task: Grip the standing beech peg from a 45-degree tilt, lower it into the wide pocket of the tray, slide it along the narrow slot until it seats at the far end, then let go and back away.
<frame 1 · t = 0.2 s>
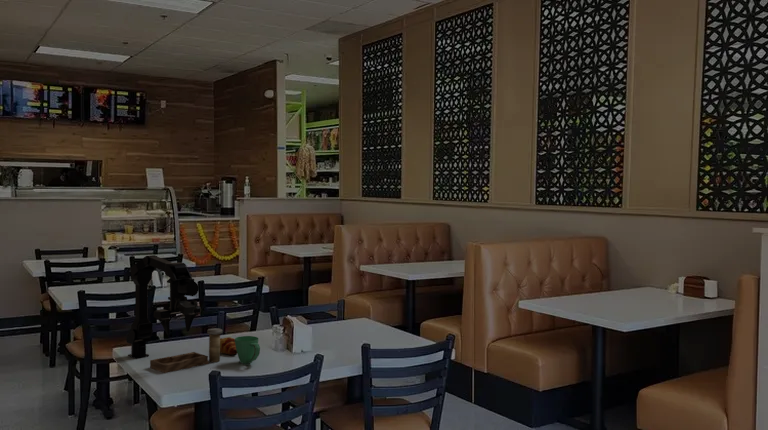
hand: (178, 333, 264), 14 cm above the table, tool pointing down, fingers open, 9 cm apart
tray: (179, 365, 269), on the table
peg: (214, 361, 277), on the table
croissant: (227, 352, 294), on the table
mug: (249, 363, 275), on the table
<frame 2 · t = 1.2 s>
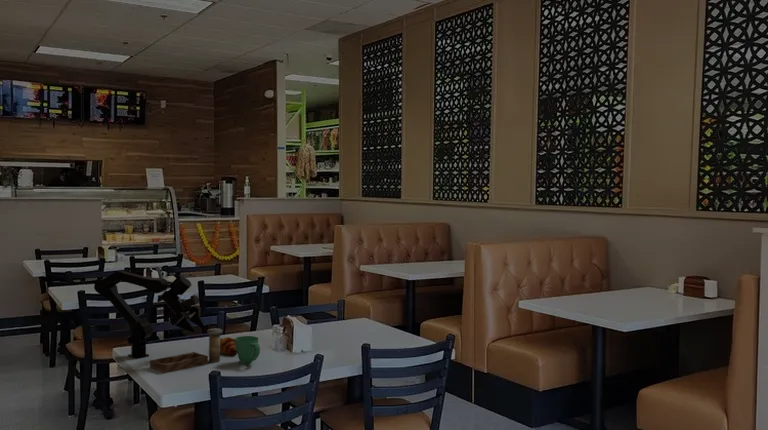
hand: (199, 329, 278), 13 cm above the table, tool tilted 45°, fingers open, 9 cm apart
nothing on the table moved.
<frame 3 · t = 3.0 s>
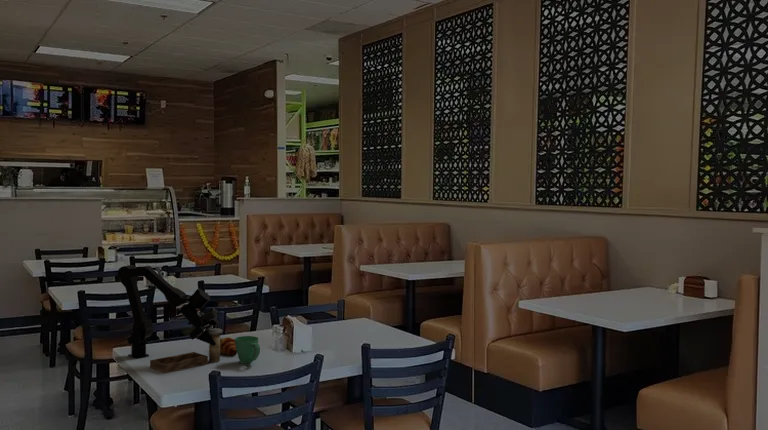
hand: (217, 343, 277), 8 cm above the table, tool tilted 45°, fingers closed on peg, 5 cm apart
peg: (214, 361, 277), on the table, touching gripper
everything else where it was.
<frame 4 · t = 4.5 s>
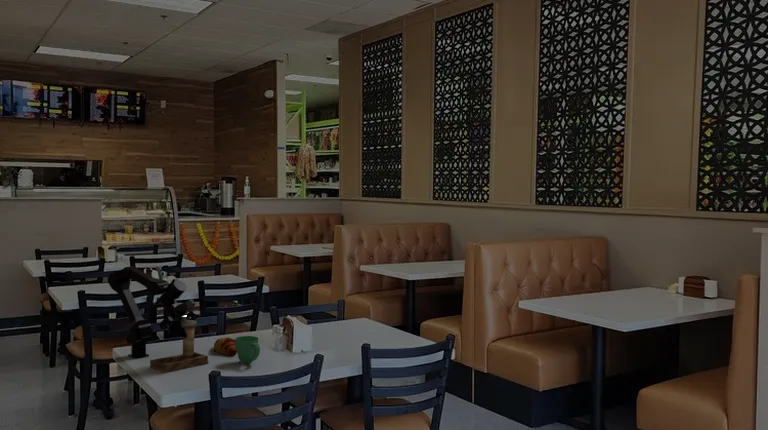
hand: (191, 335, 268), 12 cm above the table, tool tilted 45°, fingers closed on peg, 5 cm apart
peg: (188, 353, 269), point 5 cm above the table, touching gripper
everything else where it was.
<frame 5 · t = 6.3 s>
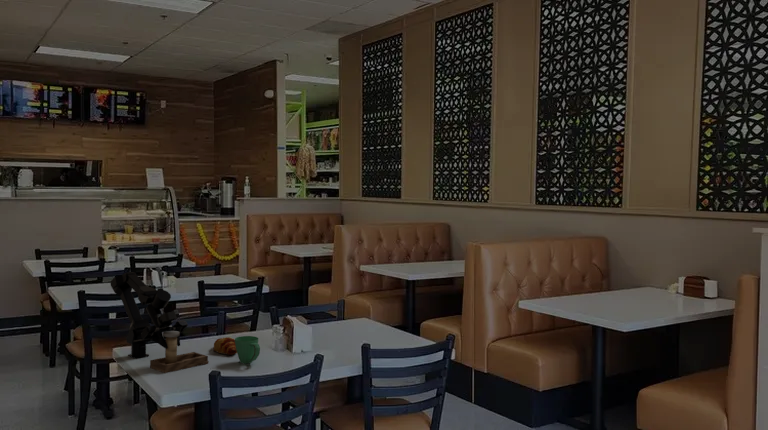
hand: (173, 346, 264), 9 cm above the table, tool tilted 45°, fingers closed on peg, 5 cm apart
peg: (170, 365, 265), point 1 cm above the table, touching gripper
everything else where it was.
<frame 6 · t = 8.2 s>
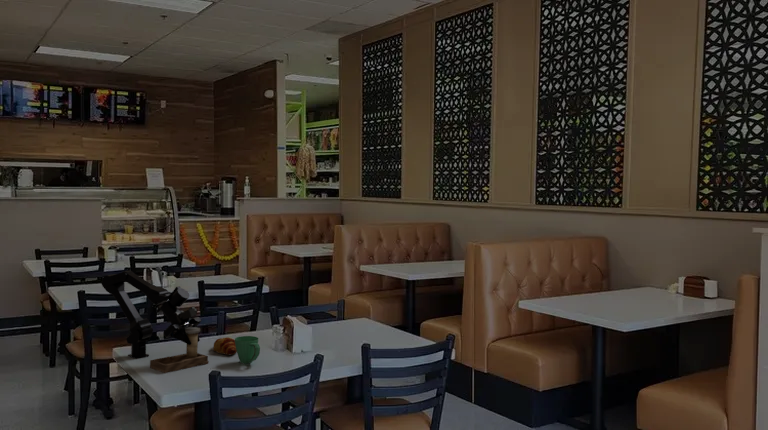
hand: (194, 342, 272), 9 cm above the table, tool tilted 45°, fingers closed on peg, 5 cm apart
peg: (191, 360, 273), point 1 cm above the table, touching gripper
everything else where it was.
when the fingers open (9 cm above the table, at t = 9.6 s): peg stays where it is, resting on tray.
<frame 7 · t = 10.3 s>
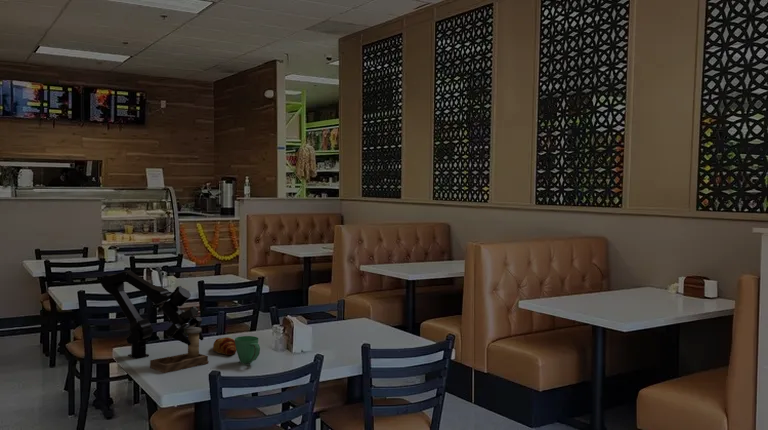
hand: (196, 342, 273), 9 cm above the table, tool tilted 45°, fingers open, 9 cm apart
peg: (193, 360, 274), point 1 cm above the table, touching tray
everything else where it was.
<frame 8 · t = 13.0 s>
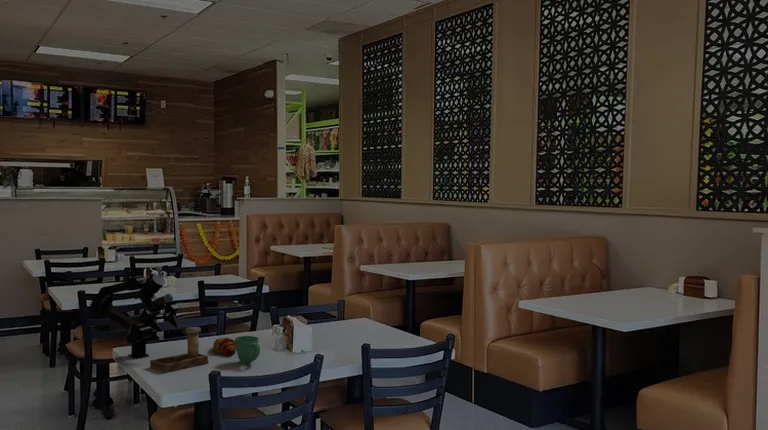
hand: (169, 329, 274), 14 cm above the table, tool tilted 45°, fingers open, 9 cm apart
nothing on the table moved.
at the end: peg 0.2 cm from the target spot on the tray, point 1.0 cm above the tray's base; peg tilted 1°; the gripper is holding nothing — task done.
